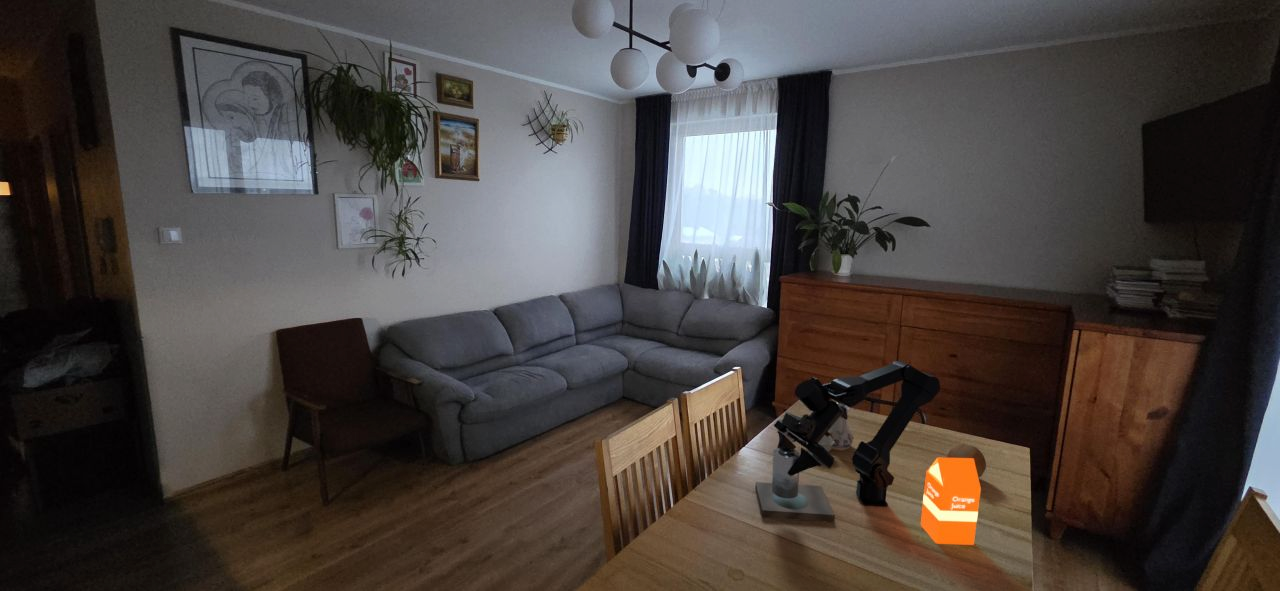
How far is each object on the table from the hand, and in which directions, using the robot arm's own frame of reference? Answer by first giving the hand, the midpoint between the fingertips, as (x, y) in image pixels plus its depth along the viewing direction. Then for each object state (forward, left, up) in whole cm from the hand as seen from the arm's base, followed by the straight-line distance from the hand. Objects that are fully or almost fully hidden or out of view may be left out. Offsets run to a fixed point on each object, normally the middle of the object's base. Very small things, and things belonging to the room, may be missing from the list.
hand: (781, 468), depth 130 cm
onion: (-59, -28, -14) cm, 66 cm away
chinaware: (-24, -46, -14) cm, 53 cm away
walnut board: (-5, -7, -13) cm, 16 cm away
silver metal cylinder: (-1, -1, -7) cm, 7 cm away
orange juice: (-40, +2, -14) cm, 42 cm away
